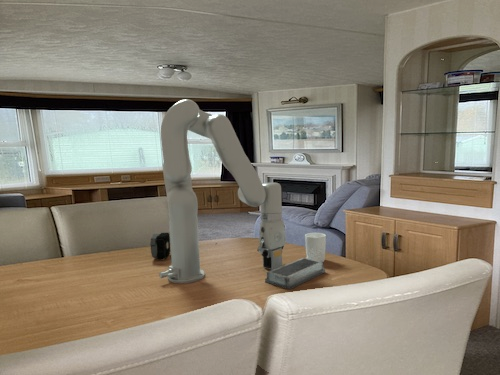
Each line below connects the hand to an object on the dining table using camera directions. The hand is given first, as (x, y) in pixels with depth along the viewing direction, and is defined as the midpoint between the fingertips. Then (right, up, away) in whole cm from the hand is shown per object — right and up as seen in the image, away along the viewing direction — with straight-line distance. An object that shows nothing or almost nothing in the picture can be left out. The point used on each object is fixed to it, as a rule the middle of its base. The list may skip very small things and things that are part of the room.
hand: (272, 265), depth 133 cm
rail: (+7, -2, -11) cm, 13 cm away
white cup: (+17, 0, +6) cm, 18 cm away
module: (0, -1, 0) cm, 1 cm away
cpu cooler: (-45, -1, +16) cm, 47 cm away
